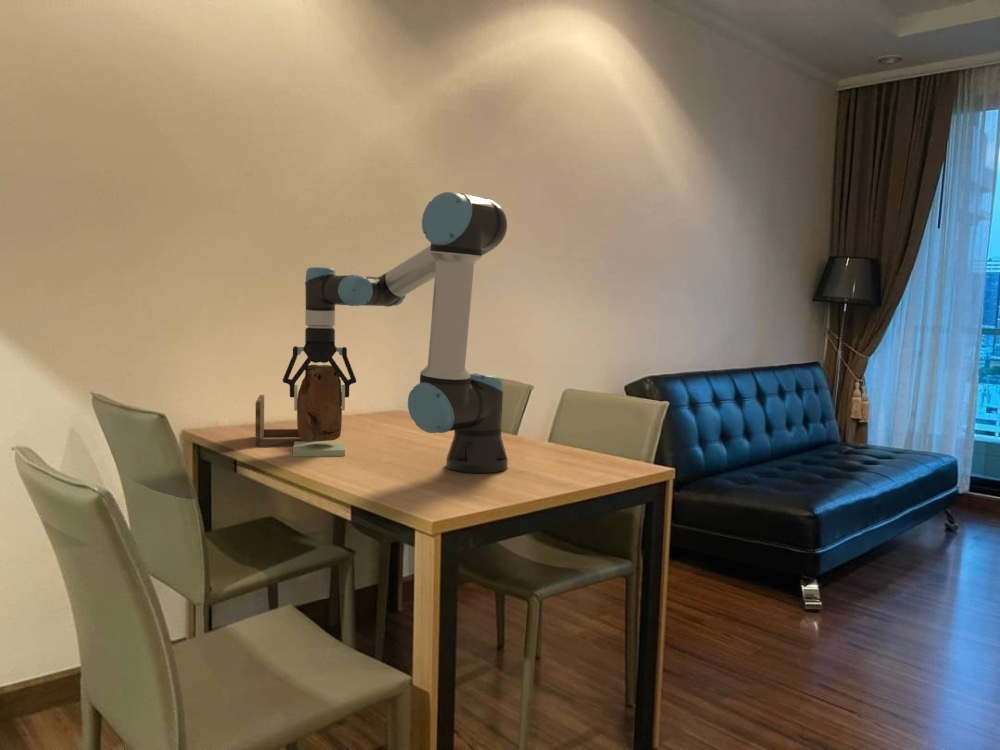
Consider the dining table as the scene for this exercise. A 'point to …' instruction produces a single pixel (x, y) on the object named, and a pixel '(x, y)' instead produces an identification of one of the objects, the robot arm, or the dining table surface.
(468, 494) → the dining table surface
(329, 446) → the pad
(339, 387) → the block
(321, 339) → the robot arm
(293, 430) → the slot box
